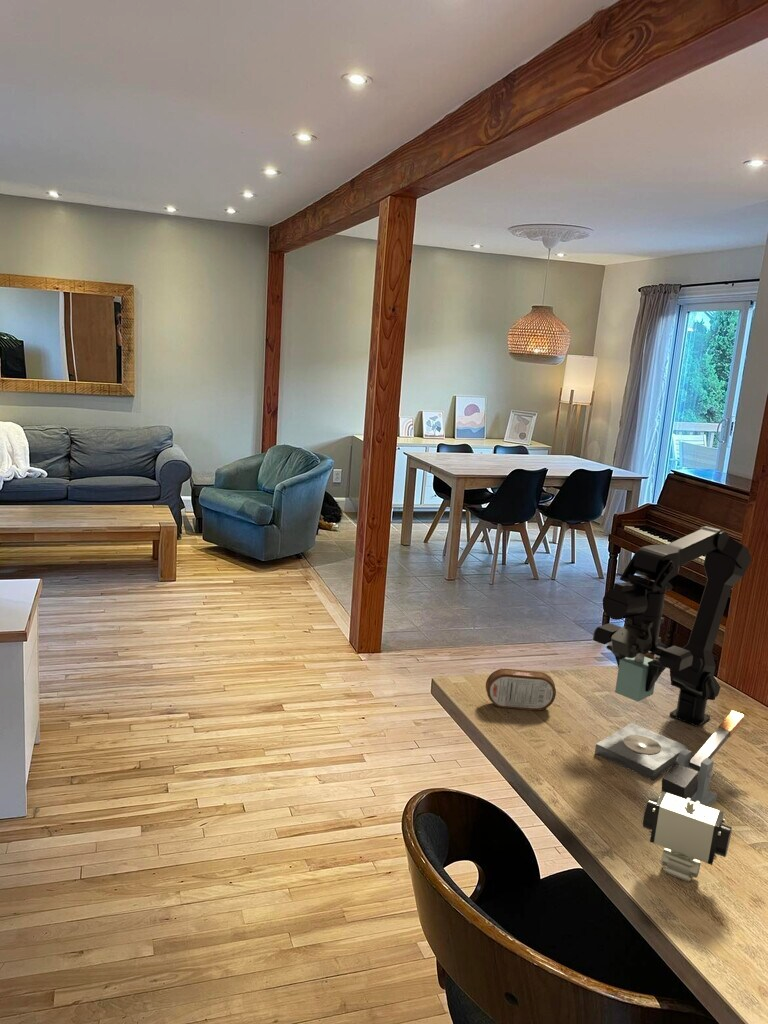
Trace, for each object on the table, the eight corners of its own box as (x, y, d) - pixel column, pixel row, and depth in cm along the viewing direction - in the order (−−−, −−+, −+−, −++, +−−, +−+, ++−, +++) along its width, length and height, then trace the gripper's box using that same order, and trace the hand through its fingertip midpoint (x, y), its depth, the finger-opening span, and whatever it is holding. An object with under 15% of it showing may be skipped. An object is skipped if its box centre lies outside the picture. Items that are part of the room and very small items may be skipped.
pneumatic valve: (717, 897, 111) (730, 824, 109) (635, 865, 117) (646, 794, 114) (723, 877, 116) (736, 805, 113) (644, 846, 122) (655, 778, 119)
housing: (630, 685, 157) (636, 643, 155) (653, 694, 154) (659, 652, 152) (615, 692, 153) (621, 650, 151) (637, 701, 150) (644, 658, 148)
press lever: (726, 720, 148) (727, 703, 147) (747, 728, 146) (749, 710, 144) (661, 796, 132) (661, 777, 131) (683, 807, 130) (684, 788, 128)
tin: (552, 707, 168) (556, 671, 166) (554, 713, 165) (559, 677, 163) (483, 701, 169) (487, 665, 167) (484, 708, 166) (488, 671, 164)
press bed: (630, 731, 159) (631, 721, 159) (686, 755, 151) (687, 745, 150) (594, 753, 150) (596, 742, 149) (652, 780, 141) (654, 769, 141)
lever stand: (678, 782, 141) (684, 743, 139) (715, 800, 136) (723, 759, 134) (662, 794, 137) (669, 753, 135) (701, 812, 132) (708, 770, 130)
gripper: (582, 605, 151) (572, 678, 155) (671, 635, 138) (658, 715, 141) (613, 596, 159) (602, 666, 162) (700, 623, 145) (687, 699, 149)
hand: (635, 686), depth 153 cm, fingers closed on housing, 5 cm apart
